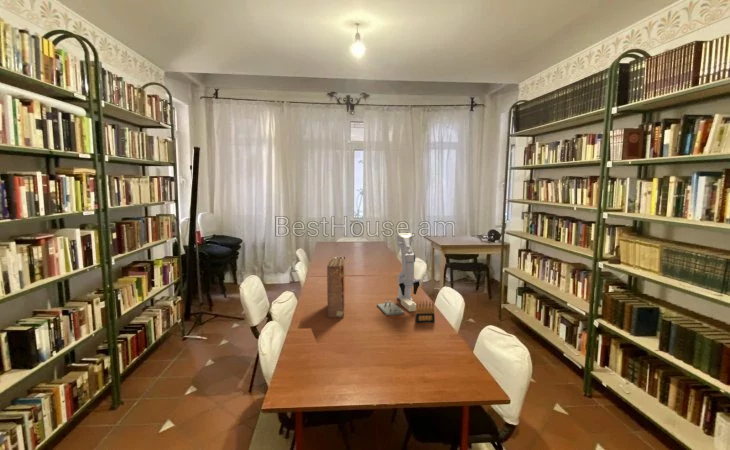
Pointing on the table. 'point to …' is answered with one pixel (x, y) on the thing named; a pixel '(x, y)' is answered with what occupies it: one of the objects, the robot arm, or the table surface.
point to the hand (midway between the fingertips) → (409, 294)
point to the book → (335, 288)
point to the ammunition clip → (424, 313)
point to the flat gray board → (390, 308)
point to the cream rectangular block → (408, 304)
